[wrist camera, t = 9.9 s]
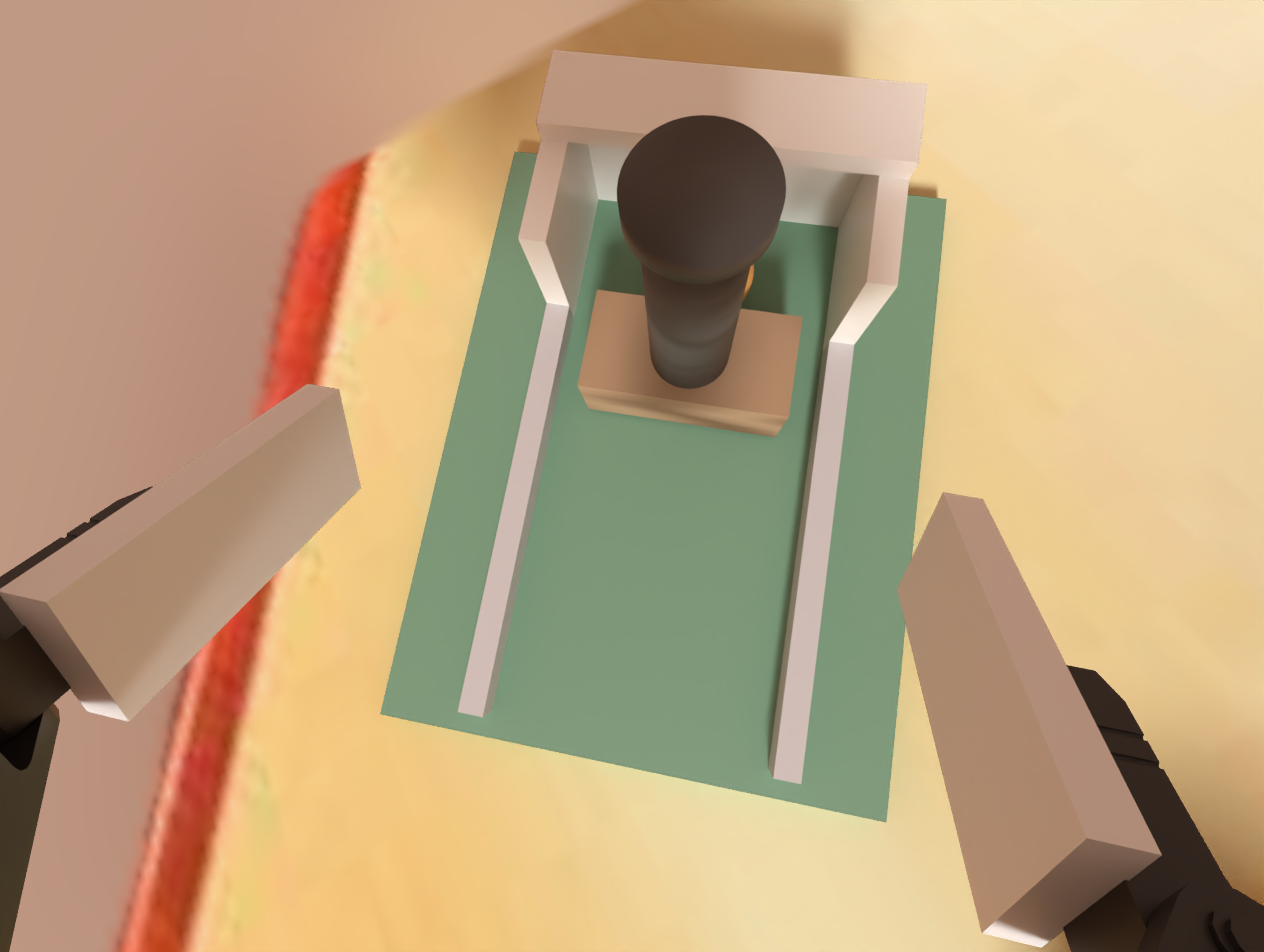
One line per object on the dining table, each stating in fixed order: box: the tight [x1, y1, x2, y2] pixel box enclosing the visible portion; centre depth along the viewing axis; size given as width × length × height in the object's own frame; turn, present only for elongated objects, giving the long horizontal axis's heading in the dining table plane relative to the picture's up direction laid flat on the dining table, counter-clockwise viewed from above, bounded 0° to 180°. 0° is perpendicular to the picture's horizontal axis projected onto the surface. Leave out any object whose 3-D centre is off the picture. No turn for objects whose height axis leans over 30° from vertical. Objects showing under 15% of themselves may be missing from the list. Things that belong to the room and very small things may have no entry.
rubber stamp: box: [578, 115, 802, 437], centre depth 19 cm, size 8×4×12 cm, turn 80°
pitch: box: [380, 152, 946, 822], centre depth 25 cm, size 20×26×2 cm
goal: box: [518, 50, 927, 352], centre depth 23 cm, size 13×7×7 cm, turn 80°
